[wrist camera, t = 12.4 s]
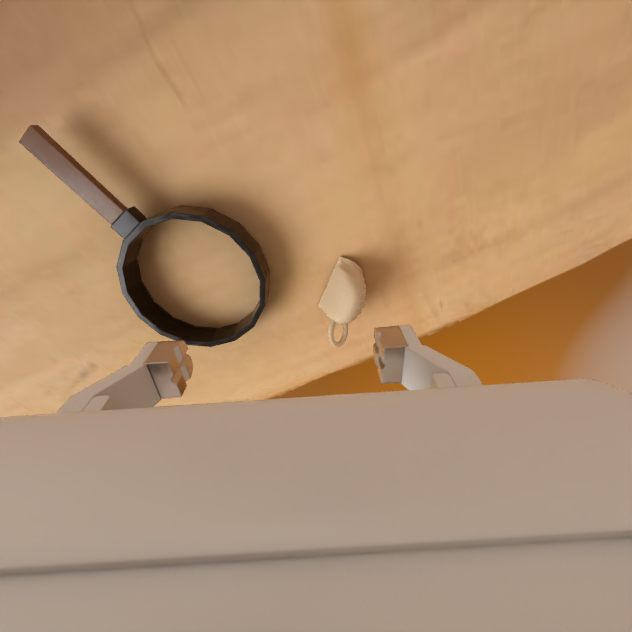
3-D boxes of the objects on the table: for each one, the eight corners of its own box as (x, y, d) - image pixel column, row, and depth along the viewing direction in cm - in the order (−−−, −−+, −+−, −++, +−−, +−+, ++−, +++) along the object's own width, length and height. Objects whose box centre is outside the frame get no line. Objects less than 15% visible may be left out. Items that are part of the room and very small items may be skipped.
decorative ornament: (373, 268, 36) (382, 288, 32) (341, 325, 40) (345, 351, 35) (340, 254, 35) (344, 273, 31) (311, 315, 39) (311, 339, 35)
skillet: (296, 284, 37) (294, 296, 34) (208, 351, 42) (200, 366, 39) (97, 68, 27) (72, 61, 24) (11, 188, 32) (-18, 193, 29)
